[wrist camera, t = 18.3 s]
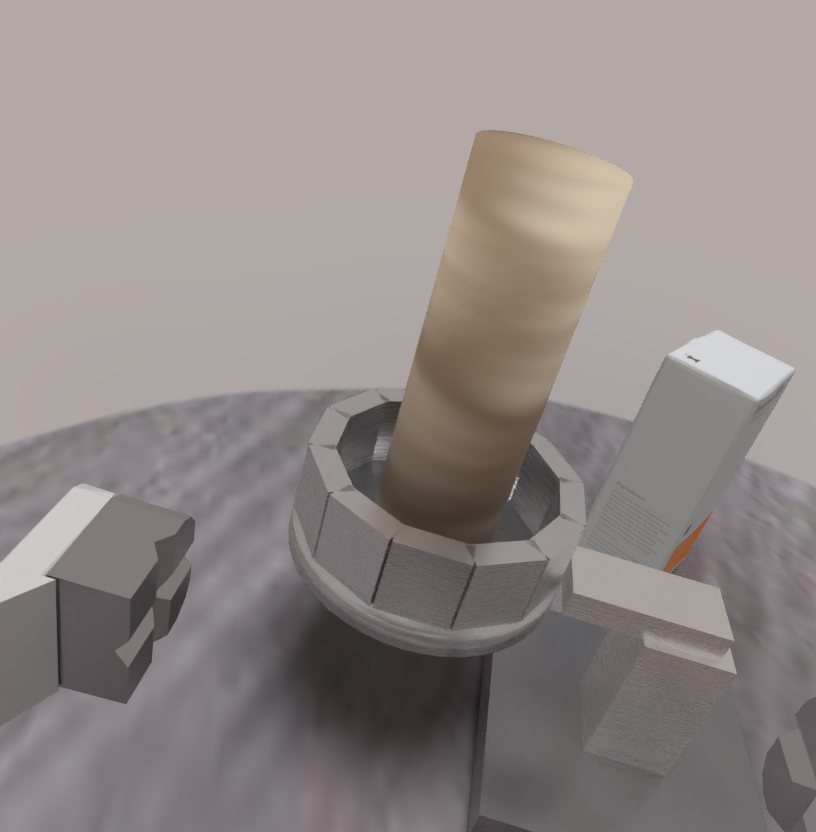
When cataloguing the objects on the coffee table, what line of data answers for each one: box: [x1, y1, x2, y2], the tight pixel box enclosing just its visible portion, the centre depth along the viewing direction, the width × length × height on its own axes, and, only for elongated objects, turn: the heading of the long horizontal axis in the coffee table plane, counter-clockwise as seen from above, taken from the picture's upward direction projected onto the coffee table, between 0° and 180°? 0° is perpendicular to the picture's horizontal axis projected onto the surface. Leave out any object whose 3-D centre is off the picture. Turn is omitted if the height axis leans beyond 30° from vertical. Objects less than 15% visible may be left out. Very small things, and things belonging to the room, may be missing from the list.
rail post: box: [374, 130, 634, 545], centre depth 22 cm, size 4×4×12 cm
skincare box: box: [577, 330, 795, 573], centre depth 36 cm, size 6×4×12 cm
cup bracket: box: [288, 389, 768, 832], centre depth 26 cm, size 18×10×10 cm, turn 79°
